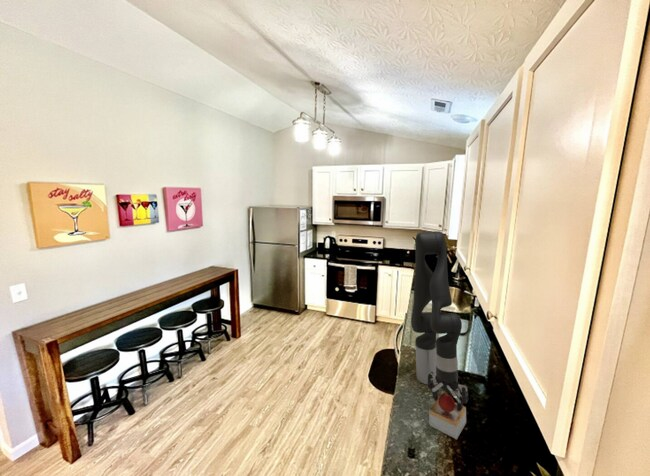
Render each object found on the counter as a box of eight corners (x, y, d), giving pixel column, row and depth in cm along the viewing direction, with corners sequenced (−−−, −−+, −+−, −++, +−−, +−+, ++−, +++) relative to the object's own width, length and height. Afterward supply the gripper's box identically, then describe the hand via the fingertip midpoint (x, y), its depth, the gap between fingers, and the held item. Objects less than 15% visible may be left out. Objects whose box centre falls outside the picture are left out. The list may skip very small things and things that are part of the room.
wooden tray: (443, 406, 115) (442, 391, 114) (468, 418, 108) (468, 402, 107) (429, 425, 106) (429, 409, 105) (456, 439, 99) (456, 423, 98)
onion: (436, 412, 105) (435, 393, 104) (442, 404, 109) (441, 385, 108) (451, 420, 101) (451, 400, 100) (457, 411, 105) (457, 391, 104)
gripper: (470, 367, 100) (470, 407, 102) (432, 354, 110) (433, 391, 112) (463, 377, 95) (463, 420, 97) (423, 362, 105) (425, 401, 107)
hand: (447, 404), depth 105 cm, fingers open, 8 cm apart
